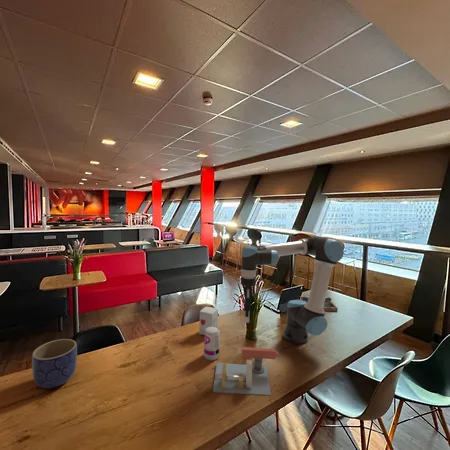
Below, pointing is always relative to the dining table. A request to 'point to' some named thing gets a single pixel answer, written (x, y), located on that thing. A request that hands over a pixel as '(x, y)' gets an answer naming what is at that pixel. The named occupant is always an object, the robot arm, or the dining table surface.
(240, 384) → the eye bracket
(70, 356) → the planter
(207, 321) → the supplement box
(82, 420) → the dining table surface
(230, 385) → the board
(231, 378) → the sliding bolt
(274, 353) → the handle
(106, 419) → the dining table surface
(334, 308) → the towel corral
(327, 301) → the towel
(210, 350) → the supplement can
